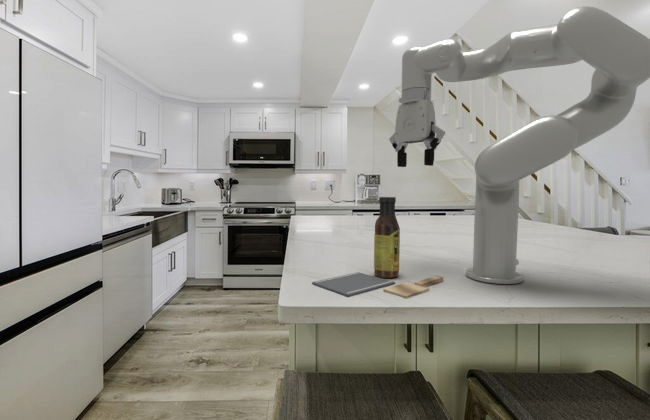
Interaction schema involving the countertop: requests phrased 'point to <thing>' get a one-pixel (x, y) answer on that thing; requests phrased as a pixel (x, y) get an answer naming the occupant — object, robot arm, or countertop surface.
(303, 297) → the countertop surface
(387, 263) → the sauce bottle
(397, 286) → the turner
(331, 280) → the mat
